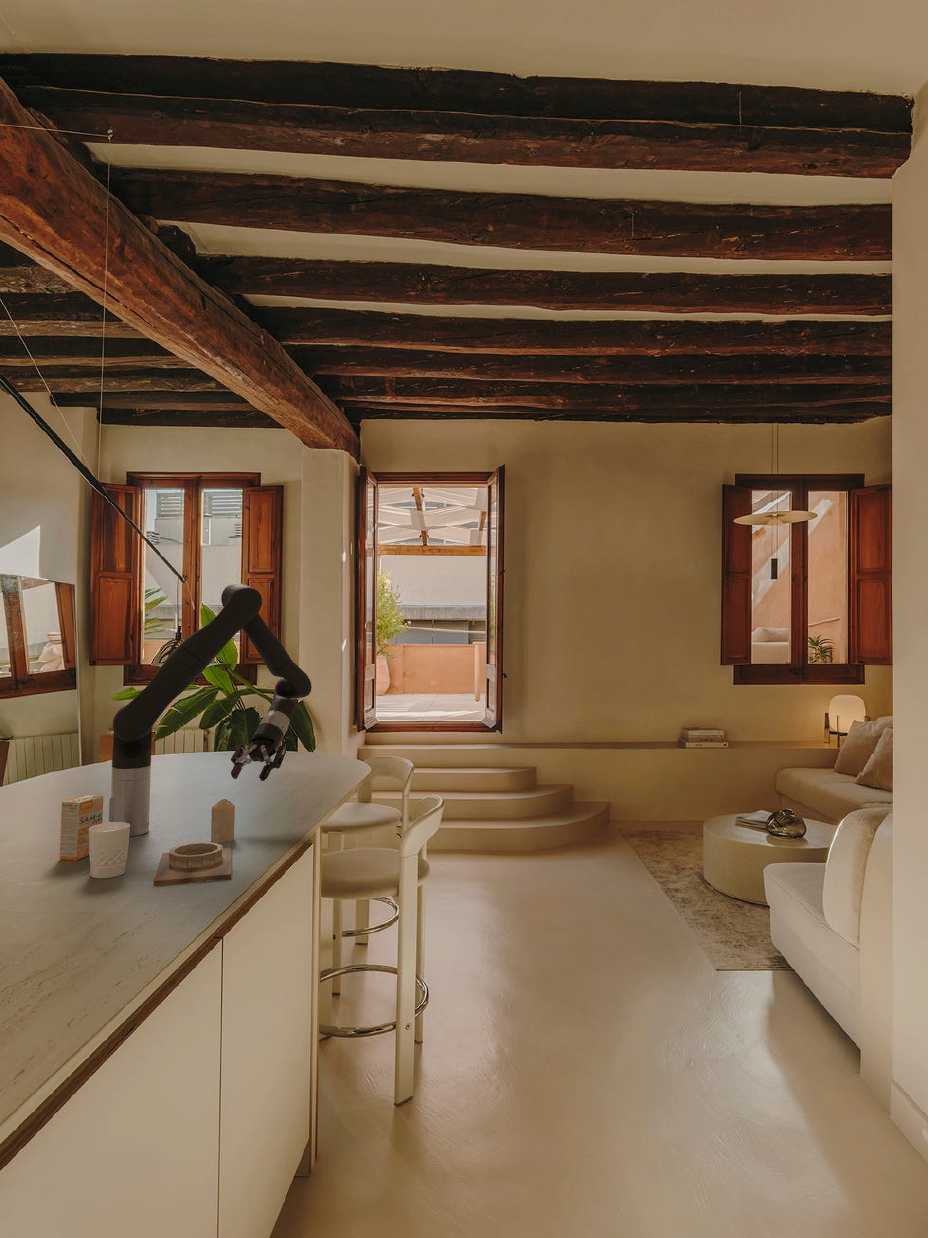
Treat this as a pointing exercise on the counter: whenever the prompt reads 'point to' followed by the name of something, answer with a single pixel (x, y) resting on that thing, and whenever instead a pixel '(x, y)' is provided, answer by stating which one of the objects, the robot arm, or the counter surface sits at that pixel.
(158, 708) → the robot arm
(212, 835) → the candle
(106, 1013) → the counter surface
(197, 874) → the candle holder tray
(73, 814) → the supplement box
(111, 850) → the white cup
